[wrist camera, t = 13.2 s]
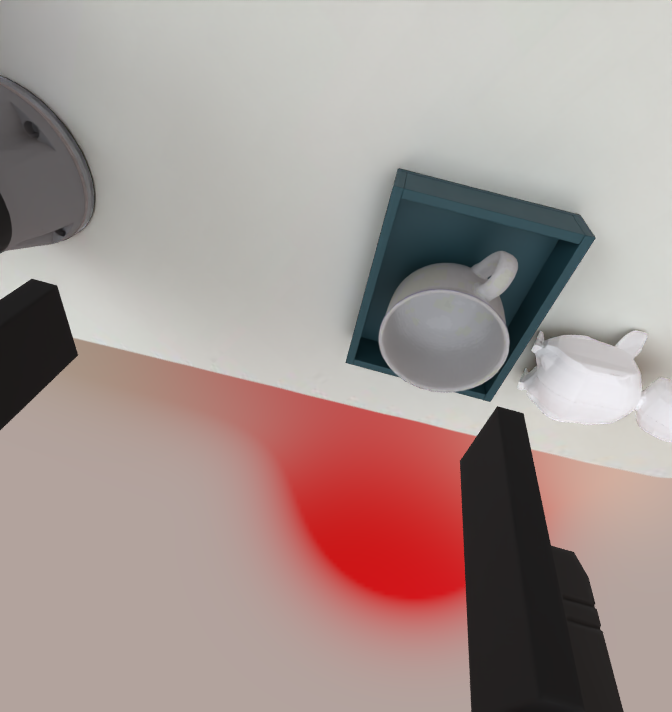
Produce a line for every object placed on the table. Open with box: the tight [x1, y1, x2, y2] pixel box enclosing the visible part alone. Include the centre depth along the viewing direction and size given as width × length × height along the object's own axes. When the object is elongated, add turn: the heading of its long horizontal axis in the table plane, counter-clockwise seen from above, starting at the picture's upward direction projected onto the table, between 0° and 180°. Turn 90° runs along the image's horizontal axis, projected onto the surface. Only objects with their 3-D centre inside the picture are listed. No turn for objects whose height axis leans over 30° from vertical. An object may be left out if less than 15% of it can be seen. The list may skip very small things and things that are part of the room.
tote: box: [346, 169, 595, 402], centre depth 39 cm, size 16×19×5 cm
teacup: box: [379, 251, 518, 392], centre depth 37 cm, size 14×11×8 cm
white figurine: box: [517, 330, 672, 442], centre depth 40 cm, size 9×8×15 cm
